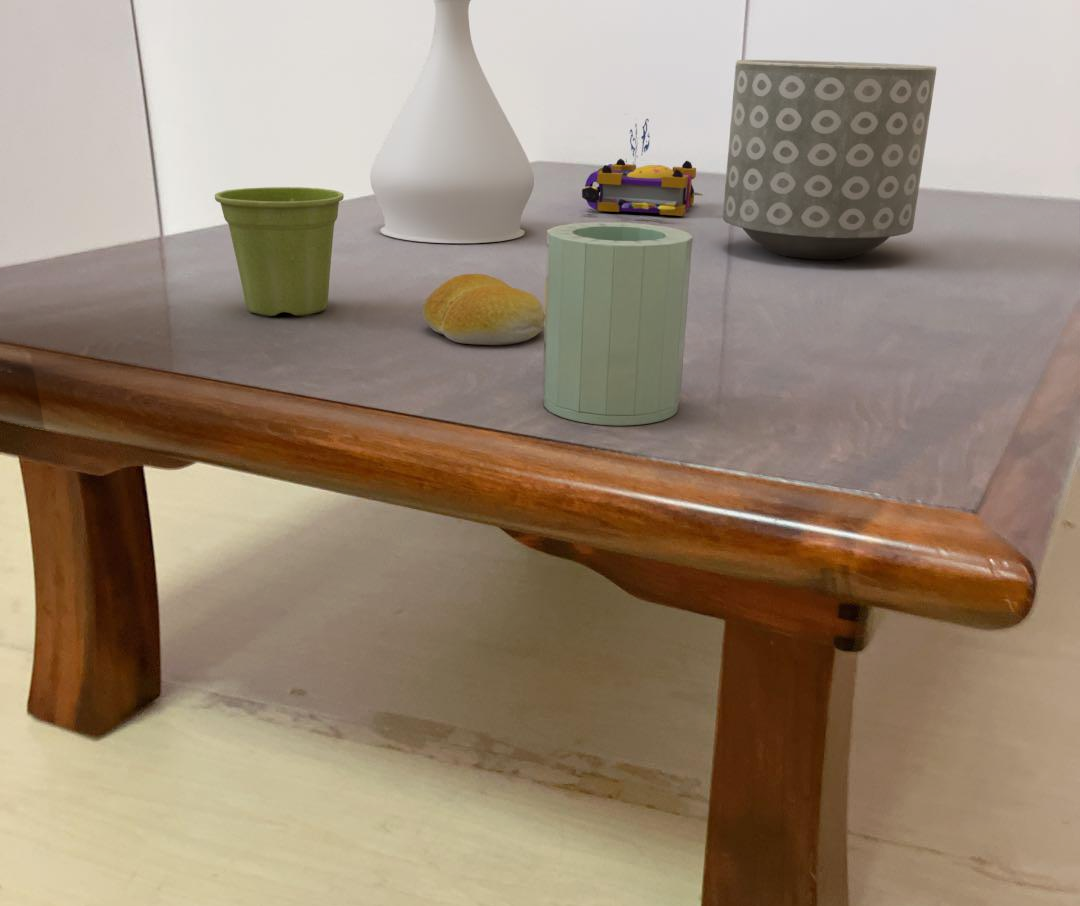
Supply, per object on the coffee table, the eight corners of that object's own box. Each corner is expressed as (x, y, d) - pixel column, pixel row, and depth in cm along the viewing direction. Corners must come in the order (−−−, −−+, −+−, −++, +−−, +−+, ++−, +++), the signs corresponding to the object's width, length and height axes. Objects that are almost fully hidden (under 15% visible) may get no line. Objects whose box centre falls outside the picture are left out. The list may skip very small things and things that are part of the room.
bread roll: (467, 353, 80) (467, 294, 78) (409, 325, 87) (408, 271, 85) (569, 340, 84) (571, 283, 82) (505, 314, 91) (506, 262, 89)
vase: (400, 249, 117) (394, -30, 107) (352, 223, 131) (343, -25, 121) (559, 241, 124) (567, -22, 114) (496, 217, 138) (499, -18, 128)
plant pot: (197, 310, 90) (187, 193, 86) (288, 292, 97) (281, 182, 93) (284, 329, 85) (277, 205, 81) (373, 308, 92) (369, 193, 89)
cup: (548, 425, 66) (554, 243, 62) (538, 386, 73) (542, 221, 69) (690, 426, 66) (704, 246, 62) (665, 386, 74) (677, 223, 70)
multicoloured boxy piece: (564, 217, 140) (568, 108, 135) (601, 192, 162) (606, 98, 157) (687, 224, 137) (695, 113, 132) (707, 198, 159) (715, 102, 154)
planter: (757, 232, 133) (774, 59, 126) (927, 250, 125) (956, 66, 117) (691, 255, 118) (706, 60, 111) (879, 278, 109) (909, 68, 102)
